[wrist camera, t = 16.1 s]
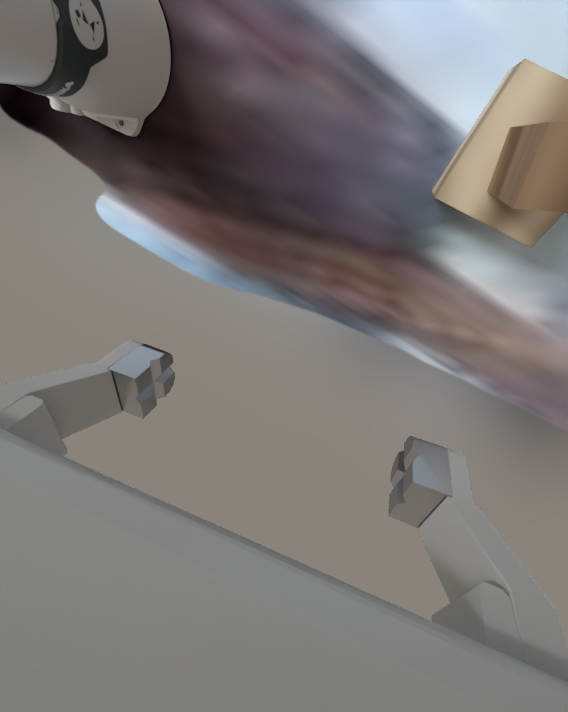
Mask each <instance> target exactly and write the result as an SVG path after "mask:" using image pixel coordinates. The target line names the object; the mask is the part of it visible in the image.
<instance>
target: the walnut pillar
mask: <svg viewBox="0 0 568 712" xmlns="http://www.w3.org/2000/svg"><path fill="white" fill-rule="evenodd" d="M487 192H489V193H490V194H492V195H493V196H495V197H496V198H498V199H499V200H501V201H502V202H504V203H505V204H507V205H508V206H510V207H511V208H513V209H524V210H537V211H551V212H564V213H568V122H544V123H538V124H531V125H524V126H517V127H510V129H509V132H508V134H507V137H506V140H505V143H504V145H503V148H502V151H501V154H500V157H499V159H498V162H497V165H496V168H495V170H494V173H493V176H492V179H491V182H490V184H489V187H488V190H487Z"/></svg>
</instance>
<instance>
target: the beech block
mask: <svg viewBox="0 0 568 712" xmlns="http://www.w3.org/2000/svg"><path fill="white" fill-rule="evenodd" d="M544 122H568V79H566V78H564V77H562V76H560V75H558V74H556V73H554V72H551V71H549V70H547V69H545V68H543V67H541V66H539V65H537V64H535V63H533V62H531V61H529V60H527V59H524V60H523V61H521V62H520V63H519V64H517V65H516V66H514V67H513V68H512V69H510V70H509V71H508V72H507V74H506V75H505V77H504V79H503V80H502V82H501V83H500V85H499V86H498V88H497V89H496V91H495V93H494V94H493V96H492V97H491V99H490V100H489V102H488V104H487V105H486V107H485V108H484V110H483V111H482V113H481V115H480V116H479V118H478V119H477V121H476V122H475V124H474V125H473V127H472V129H471V130H470V132H469V133H468V135H467V136H466V138H465V140H464V141H463V143H462V144H461V146H460V147H459V149H458V151H457V152H456V154H455V155H454V157H453V158H452V160H451V161H450V163H449V165H448V166H447V168H446V169H445V171H444V172H443V174H442V176H441V177H440V179H439V180H438V182H437V183H436V185H435V187H434V188H433V190H432V192H433V195H434V198H436V199H438V200H440V201H442V202H444V203H446V204H448V205H450V206H452V207H454V208H455V209H457V210H459V211H461V212H463V213H465V214H467V215H469V216H471V217H473V218H475V219H477V220H479V221H481V222H482V223H484V224H486V225H488V226H490V227H492V228H494V229H496V230H498V231H500V232H502V233H504V234H506V235H508V236H509V237H511V238H513V239H515V240H517V241H519V242H521V243H523V244H525V245H527V246H529V247H532V246H533V245H534V244H535V243H536V242H537V241H538V240H539V239H540V238H541V236H542V235H543V234H544V233H545V232H546V231H547V230H548V229H549V228H550V227H551V226H552V225H553V224H554V223H555V222H556V221H557V220H558V218H559V217H560V216H561V215H562V214H563V213H564V212H551V211H537V210H524V209H513V208H511V207H510V206H508V205H507V204H505V203H504V202H502V201H501V200H499V199H498V198H496V197H495V196H493V195H492V194H490V193H489V192H487V190H488V187H489V184H490V182H491V179H492V176H493V173H494V170H495V168H496V165H497V162H498V159H499V157H500V154H501V151H502V148H503V145H504V143H505V140H506V137H507V134H508V132H509V129H510V127H517V126H524V125H531V124H538V123H544Z"/></svg>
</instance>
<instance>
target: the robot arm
mask: <svg viewBox="0 0 568 712" xmlns="http://www.w3.org/2000/svg"><path fill="white" fill-rule="evenodd" d="M170 65H171V53H170V41H169V35H168V30H167V25H166V21H165V18H164V14H163V11H162V9H161V6H160V3H159V1H158V0H0V83H5V84H13V85H16V86H17V87H19V88H21V89H23V90H26V91H29V92H33V93H36V94H39V95H43V96H47V97H48V98H49V99H50V105H51V107H52V108H53V109H56V110H59V111H62V112H68V113H73V114H76V115H80V116H84V115H85V116H87V117H89V118H91V119H94V120H96V121H98V122H100V123H102V124H104V125H106V126H108V127H111V128H113V129H115V130H117V131H119V132H121V133H123V134H125V135H128V136H132V137H136V136H137V135H138V134H139V133H140V131H141V128H142V126H143V123H144V120H145V118H146V117H147V116H148V115H149V114H150V113H151V112H152V111H153V110H154V109H155V108H156V107H157V106H158V105H159V103H160V102H161V100H162V98H163V96H164V94H165V91H166V89H167V85H168V81H169V75H170ZM122 120H123V123H124V125H123V123H122ZM172 363H173V357H172V355H171V354H170V353H168V352H165V351H163V350H160V349H157V348H155V347H152V346H149V345H146V344H143V343H140V342H138V341H135V340H129V341H127V342H125V343H124V344H122V345H121V346H119V347H118V348H116V349H115V350H113V351H112V352H111V353H109V354H108V355H106V356H105V357H103V358H102V359H100V360H99V361H98V362H96V363H95V364H91V363H87V364H84V365H79V366H75V367H71V368H67V369H63V370H59V371H55V372H51V373H46V374H42V375H38V376H34V377H29V378H25V379H21V380H17V381H13V382H9V383H5V384H4V385H2V386H0V712H568V647H567V644H566V641H565V637H564V634H563V631H562V627H561V624H560V621H559V618H558V614H557V611H556V609H555V608H554V607H553V605H552V604H551V603H550V601H549V600H548V599H547V597H546V596H545V595H544V593H543V592H542V590H541V589H540V588H539V586H538V585H537V584H536V582H535V581H534V580H533V578H532V577H531V576H530V574H529V573H528V571H527V570H526V569H525V567H524V566H523V565H522V563H521V562H520V561H519V559H518V558H517V557H516V555H515V554H514V553H513V551H512V550H511V549H510V547H509V546H508V544H507V543H506V542H505V540H504V539H503V538H502V536H501V535H500V534H499V533H498V531H497V530H496V528H495V527H494V526H493V524H492V523H491V522H490V520H489V519H488V518H487V516H486V515H485V514H484V512H483V511H482V510H481V508H479V507H476V506H475V504H474V499H473V493H472V487H471V482H470V477H469V471H468V465H467V460H466V456H465V455H464V454H463V453H460V452H457V451H454V450H451V449H448V448H444V447H442V446H439V445H436V444H433V443H430V442H427V441H424V440H421V439H418V438H415V437H412V436H410V437H409V438H407V440H406V442H405V443H404V451H402V452H399V454H398V455H397V457H396V458H395V461H394V464H393V467H392V472H391V483H392V485H393V487H394V489H393V490H392V492H391V493H390V497H389V516H391V517H393V518H395V519H398V520H400V521H402V522H405V523H407V524H409V525H412V526H414V527H416V528H418V532H419V534H420V537H421V539H422V541H423V543H424V545H425V548H426V550H427V552H428V554H429V556H430V559H431V561H432V563H433V565H434V567H435V570H436V572H437V574H438V577H439V579H440V581H441V583H442V585H443V587H444V590H445V592H446V594H447V596H448V599H449V601H450V604H448V605H447V606H445V607H444V608H442V609H441V610H439V611H438V612H436V613H435V614H433V615H432V621H430V620H428V619H425V618H423V617H421V616H419V615H417V614H414V613H412V612H410V611H408V610H405V609H403V608H401V607H399V606H396V605H394V604H392V603H390V602H387V601H385V600H383V599H381V598H378V597H376V596H374V595H372V594H370V593H367V592H365V591H363V590H361V589H359V588H356V587H354V586H352V585H350V584H347V583H345V582H343V581H341V580H338V579H336V578H334V577H332V576H329V575H327V574H325V573H323V572H320V571H318V570H316V569H314V568H311V567H309V566H307V565H305V564H303V563H300V562H298V561H296V560H294V559H292V558H289V557H287V556H285V555H282V554H280V553H278V552H276V551H274V550H272V549H269V548H267V547H265V546H263V545H260V544H258V543H256V542H254V541H251V540H249V539H247V538H245V537H242V536H240V535H238V534H236V533H234V532H231V531H229V530H227V529H225V528H222V527H220V526H218V525H216V524H214V523H211V522H209V521H207V520H205V519H202V518H200V517H198V516H196V515H193V514H191V513H189V512H187V511H184V510H182V509H180V508H178V507H175V506H173V505H171V504H169V503H166V502H164V501H162V500H160V499H158V498H155V497H153V496H151V495H149V494H147V493H144V492H142V491H140V490H137V489H135V488H133V487H131V486H129V485H126V484H124V483H122V482H120V481H117V480H115V479H113V478H111V477H108V476H106V475H104V474H102V473H99V472H97V471H95V470H93V469H91V468H88V467H86V466H84V465H82V464H80V463H77V462H75V461H73V460H71V459H68V458H66V457H64V456H65V455H66V454H67V448H66V446H65V444H64V442H63V440H62V439H63V438H65V437H68V436H70V435H72V434H74V433H76V432H79V431H81V430H83V429H85V428H88V427H90V426H92V425H94V424H96V423H99V422H101V421H103V420H105V419H108V418H110V417H112V416H114V415H116V414H119V413H121V412H122V411H124V412H127V413H130V414H133V415H135V416H138V417H141V418H145V416H147V415H148V413H150V411H151V410H152V409H153V408H154V407H155V406H156V405H157V399H160V398H163V397H165V396H166V395H167V394H168V393H169V392H170V390H171V388H172V386H173V384H174V380H175V374H174V371H173V370H172V368H171V367H170V365H171V364H172Z"/></svg>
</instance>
